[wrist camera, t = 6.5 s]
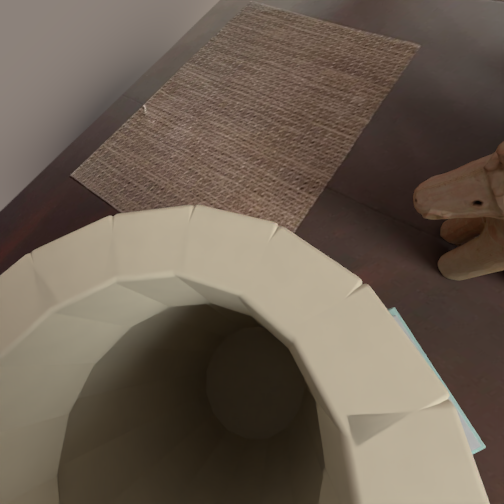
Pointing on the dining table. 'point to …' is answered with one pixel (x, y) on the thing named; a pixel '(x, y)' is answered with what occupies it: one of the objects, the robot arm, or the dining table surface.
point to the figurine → (468, 215)
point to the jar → (214, 374)
